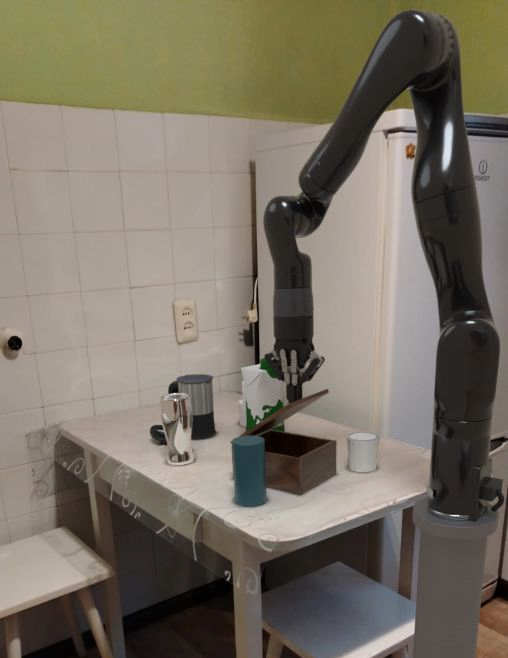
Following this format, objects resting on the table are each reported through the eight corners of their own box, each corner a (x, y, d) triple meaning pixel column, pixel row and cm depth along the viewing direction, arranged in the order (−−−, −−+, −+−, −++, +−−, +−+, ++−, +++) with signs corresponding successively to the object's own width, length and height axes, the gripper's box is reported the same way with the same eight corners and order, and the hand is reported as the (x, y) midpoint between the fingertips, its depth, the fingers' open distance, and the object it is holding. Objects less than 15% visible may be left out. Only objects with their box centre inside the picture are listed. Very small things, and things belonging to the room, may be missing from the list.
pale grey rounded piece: (262, 428, 167) (261, 383, 163) (233, 425, 171) (231, 380, 167) (279, 420, 174) (278, 376, 170) (250, 416, 178) (248, 374, 174)
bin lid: (329, 392, 128) (327, 388, 128) (291, 407, 118) (289, 403, 118) (271, 428, 140) (269, 425, 140) (232, 445, 130) (230, 441, 130)
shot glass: (339, 466, 137) (339, 435, 135) (365, 460, 140) (366, 429, 138) (359, 475, 132) (359, 443, 129) (385, 469, 134) (386, 437, 132)
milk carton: (264, 447, 152) (261, 363, 145) (239, 439, 159) (236, 358, 152) (290, 439, 157) (289, 357, 150) (266, 432, 164) (263, 353, 157)
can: (272, 498, 122) (270, 438, 118) (253, 509, 118) (251, 447, 114) (248, 492, 126) (245, 433, 122) (228, 502, 122) (225, 442, 117)
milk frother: (222, 430, 167) (219, 374, 162) (194, 449, 154) (189, 388, 148) (175, 426, 173) (170, 372, 167) (143, 444, 159) (137, 385, 154)
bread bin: (336, 474, 133) (336, 440, 130) (300, 495, 123) (299, 459, 121) (271, 460, 143) (270, 429, 140) (233, 479, 133) (231, 445, 131)
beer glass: (188, 467, 142) (183, 400, 136) (160, 464, 144) (153, 399, 139) (200, 456, 148) (195, 393, 142) (172, 455, 150) (167, 392, 145)
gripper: (252, 313, 121) (256, 403, 127) (312, 316, 113) (312, 411, 119) (276, 309, 126) (278, 395, 133) (334, 311, 118) (333, 402, 125)
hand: (294, 402), depth 126 cm, fingers closed
